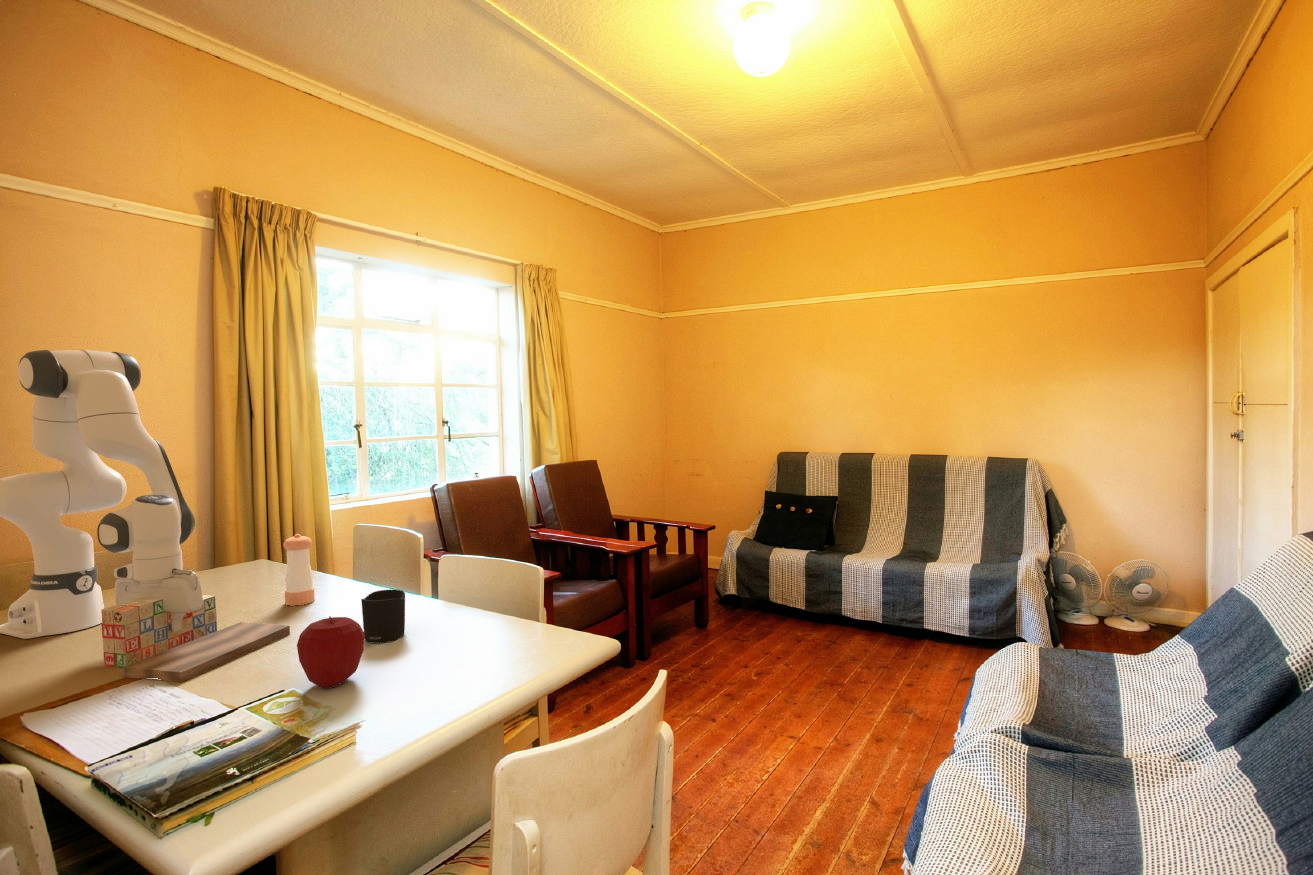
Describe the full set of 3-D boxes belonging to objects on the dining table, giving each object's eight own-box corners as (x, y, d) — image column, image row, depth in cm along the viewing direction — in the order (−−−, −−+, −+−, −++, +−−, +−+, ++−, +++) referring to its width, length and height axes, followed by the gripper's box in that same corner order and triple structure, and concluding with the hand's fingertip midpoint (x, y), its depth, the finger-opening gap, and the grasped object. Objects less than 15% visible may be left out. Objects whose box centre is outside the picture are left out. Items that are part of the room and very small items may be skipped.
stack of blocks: (196, 632, 157) (194, 581, 157) (217, 633, 156) (215, 583, 155) (103, 666, 137) (100, 608, 136) (126, 668, 135) (123, 610, 135)
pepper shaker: (306, 596, 186) (304, 530, 185) (319, 601, 182) (317, 533, 181) (280, 603, 180) (277, 534, 179) (292, 607, 176) (290, 537, 175)
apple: (361, 691, 122) (358, 622, 122) (291, 700, 119) (289, 628, 118) (369, 667, 134) (367, 603, 133) (306, 675, 130) (304, 609, 130)
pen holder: (355, 637, 152) (354, 595, 151) (395, 627, 159) (393, 587, 158) (373, 647, 145) (372, 603, 145) (413, 636, 152) (412, 594, 152)
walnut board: (124, 676, 131) (123, 667, 131) (240, 630, 158) (239, 622, 158) (181, 682, 128) (181, 672, 128) (289, 633, 155) (289, 625, 155)
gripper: (209, 566, 146) (212, 627, 147) (135, 563, 150) (138, 622, 151) (183, 573, 140) (186, 636, 140) (107, 569, 144) (110, 631, 145)
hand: (160, 629), depth 146 cm, fingers closed on stack of blocks, 6 cm apart
